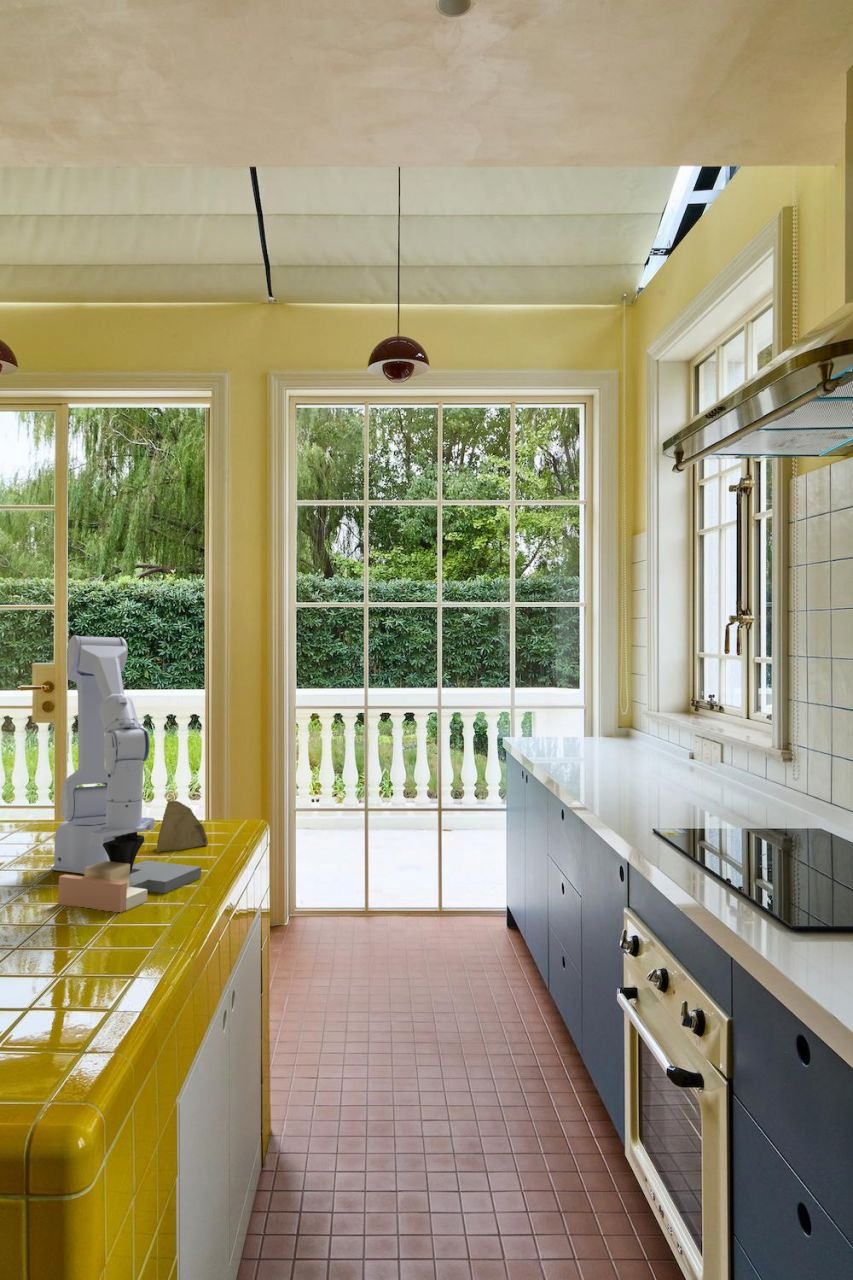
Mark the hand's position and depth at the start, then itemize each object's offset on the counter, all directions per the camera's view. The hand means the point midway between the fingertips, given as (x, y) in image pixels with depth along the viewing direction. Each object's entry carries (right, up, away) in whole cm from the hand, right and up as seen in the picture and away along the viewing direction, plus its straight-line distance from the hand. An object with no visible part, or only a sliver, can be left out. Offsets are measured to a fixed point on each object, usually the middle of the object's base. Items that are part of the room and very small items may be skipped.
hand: (121, 879), depth 143 cm
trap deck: (+1, -3, +3) cm, 4 cm away
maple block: (-1, -1, -4) cm, 4 cm away
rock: (0, -4, +35) cm, 36 cm away
